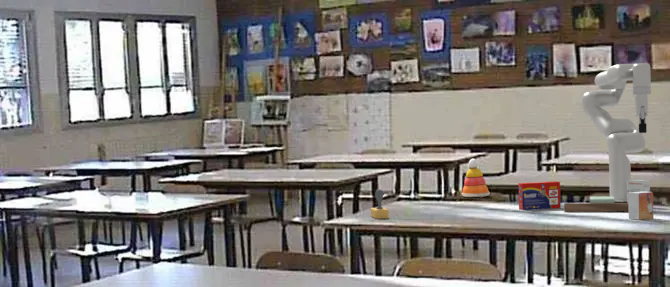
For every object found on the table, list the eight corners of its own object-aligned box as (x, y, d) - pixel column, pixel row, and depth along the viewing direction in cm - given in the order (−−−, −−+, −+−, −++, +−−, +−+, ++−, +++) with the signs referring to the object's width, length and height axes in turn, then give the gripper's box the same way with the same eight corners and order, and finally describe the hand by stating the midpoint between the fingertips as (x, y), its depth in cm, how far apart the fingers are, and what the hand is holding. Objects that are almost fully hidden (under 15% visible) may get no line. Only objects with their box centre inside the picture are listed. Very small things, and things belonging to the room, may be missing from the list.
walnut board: (564, 211, 416) (564, 203, 416) (633, 211, 409) (633, 202, 409) (564, 211, 414) (564, 203, 414) (633, 211, 407) (633, 203, 407)
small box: (638, 220, 378) (638, 193, 378) (628, 219, 383) (627, 192, 383) (654, 218, 382) (653, 191, 381) (643, 217, 387) (642, 190, 386)
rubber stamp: (388, 218, 411) (388, 189, 411) (375, 218, 410) (374, 190, 410) (383, 215, 421) (383, 188, 421) (370, 216, 420) (369, 188, 420)
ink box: (650, 207, 423) (650, 180, 423) (644, 208, 420) (643, 180, 419) (633, 206, 430) (633, 179, 429) (627, 207, 426) (626, 180, 426)
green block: (589, 209, 425) (589, 196, 425) (613, 209, 423) (613, 196, 422) (590, 212, 414) (589, 199, 413) (614, 212, 411) (614, 199, 411)
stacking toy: (492, 195, 500) (491, 157, 499) (486, 198, 487) (485, 159, 486) (465, 195, 505) (464, 157, 504) (458, 198, 492) (457, 159, 491)
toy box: (556, 207, 435) (555, 181, 434) (560, 208, 431) (559, 181, 430) (518, 209, 430) (518, 183, 430) (522, 210, 427) (522, 183, 426)
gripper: (632, 91, 440) (633, 132, 441) (633, 91, 426) (634, 133, 426) (650, 91, 438) (651, 132, 439) (651, 90, 424) (652, 133, 424)
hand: (642, 132), depth 432 cm, fingers closed
